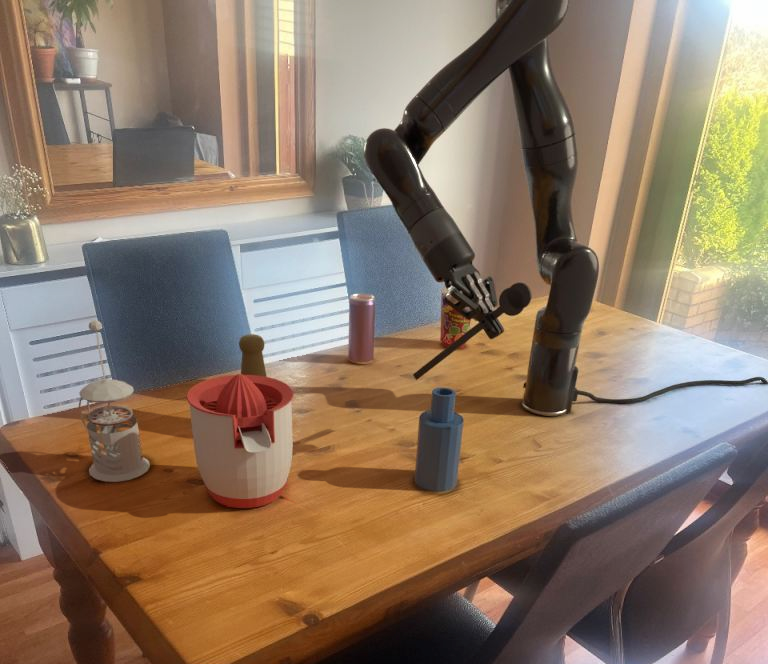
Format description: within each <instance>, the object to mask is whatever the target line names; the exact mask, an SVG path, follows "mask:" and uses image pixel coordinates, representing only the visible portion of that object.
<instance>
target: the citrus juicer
mask: <svg viewBox="0 0 768 664" xmlns="http://www.w3.org/2000/svg"><path fill="white" fill-rule="evenodd" d="M293 399H294V391H293V390H292V387H290V386H289V384H287V383H285V382H283V381H282V380H279V379H276V378H274V377H273V378H272V377H268V376H267V377H264V376H257V375H242V374H241V373H237V374H233V375H232V374H231V375H230V374H229V375H223V376H218V377H213V378H208V379H205V380H202V381H201V382H199V383H197V384H195V385H193V386H192V387H190V389H189V390H188V392H187V395H186V400H187V403H188V404H189V413H190V420H191V431H192V440H193V449H194V455H195V460H196V465H197V468H198V471H199V474H200V476H201V478H202V481H203V484H204V487H205V488H206V490H207V492H208V493H209V495H210V496H211V498H212V500H214V501H215V502H217V503H218V504H220V505H223V506H226V507H227V508H236V509H250V508H258V507H262V506H265V505H268V504H271V503H273V502H275V501H276V500H277V499H279V498H280V496H281V495H282V494H283V492H284V490H285V487H286V486H287V482H288V480H289V474H290V470H291V467H292V460H293V448H294V447H293V407H292V406H293V405H292V400H293Z"/></svg>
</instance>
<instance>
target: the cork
mask: <svg viewBox="0 0 768 664" xmlns="http://www.w3.org/2000/svg"><path fill="white" fill-rule="evenodd" d="M238 346H239V349H240V351H241V364H240V365H241V366H240V374H242V375H257V376H264V377H268V376H267V370H266V365H265V360H264V353H263V351H264V349H265V340H264V338H263V337H262V336H260V335H259V334H255V333H253V334H252V333H250V334H244V335H242V336H241V337H240V339H239V341H238Z"/></svg>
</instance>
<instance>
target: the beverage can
mask: <svg viewBox="0 0 768 664" xmlns="http://www.w3.org/2000/svg"><path fill="white" fill-rule="evenodd" d="M375 325H376V297H375V295H373V294H370V293H353V294H350V297H349V300H348V348H347V349H348V350H347V351H348V354H347V358H348V360H349V362H351V363H353V364H356V365H367V364H370V363H372V362H373V360H374V354H375V353H374V352H375V327H376V326H375Z"/></svg>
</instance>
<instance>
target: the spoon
mask: <svg viewBox="0 0 768 664" xmlns="http://www.w3.org/2000/svg"><path fill="white" fill-rule="evenodd" d="M532 297H533V295H532V291H531V288H530V287H529V285H528V284H526V283H524V282H515V283H513V284H512V285H510V287H509V286H508V287H506V288H504V289H503V290H502V291H501V293H500V295H499V298H498V304H499V306H498V307H497V308H496V309H495V310H494V311H493V312H492V313H491V316H492V317H493V319H494V320H495V319H497V318H498V319H499V317H501V316H502V315H504V314H505V315H507V316H509V317H515V316H518V315H519V314H521V313H522V312H523V311H524V309H525V308H527V307H528V306H529V305H530V304H531V302H532ZM482 330H484V329H483V328H482V326H481V325H480V323H479V322H478V323H476V324H475V325H474V326H473V327H471V328H469V331H468V332H466V333H465V334H464V335H463V336H461V337H460V338H459V339H457V340H456V341H455V342H454V343H452V344H451V345H450V346H448V347H447V348H446V347H445V349H443V350H442V351H441V352H439V353H438V354H437V355H435V356H434V357H432V359H430V361H427V363H425V364H424V365H423V366H422V367H420V368H419V369H418V370H416V371H415V372H414V373H413V374H412V376H413V378H414V379H415V380H416V381H417V380H419V379H420V378H421V377H423V376H424V375H426V374H427V373H428V372H429V371H430V370H432V369H433V368H434V367H436V366H437V365H438V364H440V363H441V362H443V361H444V360H446V358H447V357H449V356H450V355H451V354H452V353H454V352H455V351H456V350H459V349H458V348H459V347H460V346H462V345H463V344H464V343H465V342H466V343H467V342H468V341H469V340H471V339H472V338H473V337H475V336H476V335H477V334H479V333H480V332H481V331H482ZM466 343H465V344H466Z"/></svg>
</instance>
